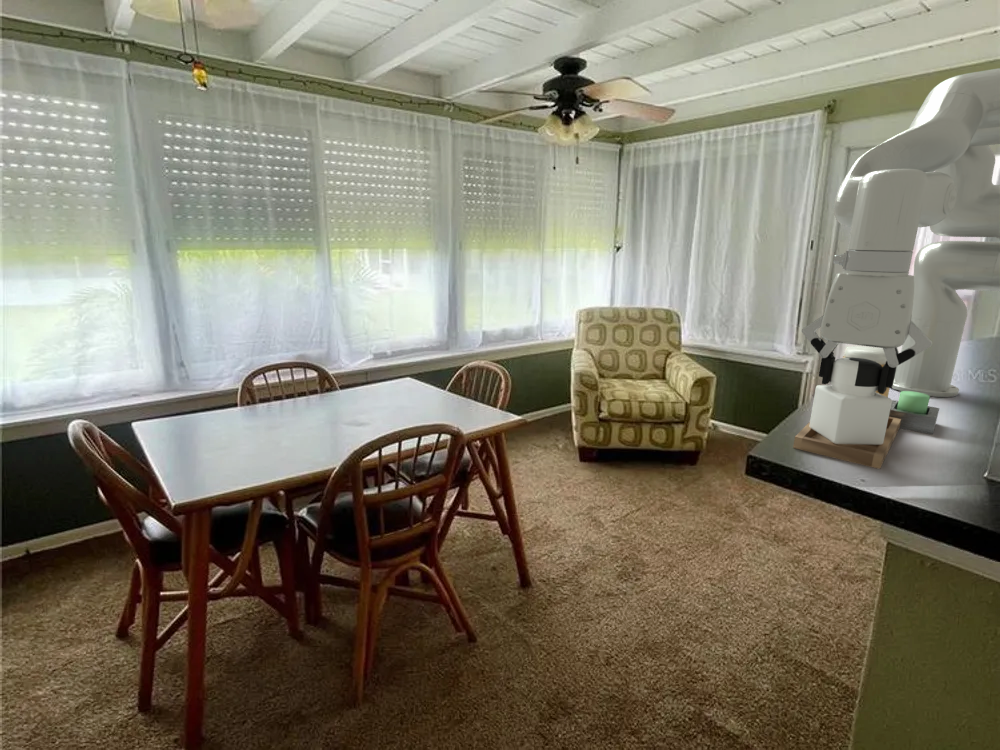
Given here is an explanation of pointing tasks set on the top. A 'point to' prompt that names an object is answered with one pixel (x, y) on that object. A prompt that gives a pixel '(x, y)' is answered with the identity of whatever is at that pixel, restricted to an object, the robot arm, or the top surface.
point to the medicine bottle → (851, 404)
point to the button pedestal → (915, 418)
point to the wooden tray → (848, 446)
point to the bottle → (868, 356)
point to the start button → (913, 402)
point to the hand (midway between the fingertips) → (853, 385)
